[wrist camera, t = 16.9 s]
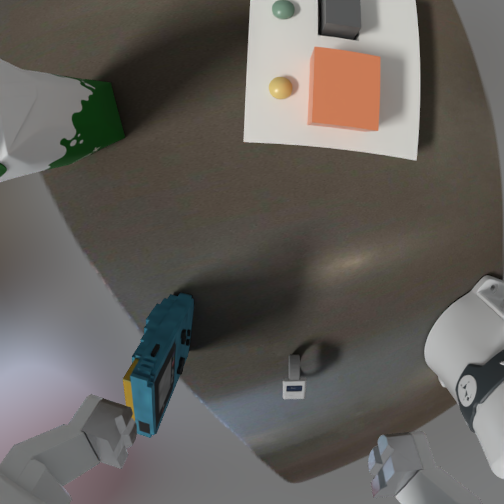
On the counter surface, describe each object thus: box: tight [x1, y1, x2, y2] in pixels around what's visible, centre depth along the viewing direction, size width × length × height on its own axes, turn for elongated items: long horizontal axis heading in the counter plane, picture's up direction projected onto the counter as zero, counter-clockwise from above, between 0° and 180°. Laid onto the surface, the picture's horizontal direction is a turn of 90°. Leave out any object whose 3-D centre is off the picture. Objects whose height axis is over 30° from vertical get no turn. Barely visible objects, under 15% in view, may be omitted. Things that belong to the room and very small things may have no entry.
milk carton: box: [0, 59, 125, 182], centre depth 21 cm, size 9×9×20 cm
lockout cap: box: [307, 47, 380, 132], centre depth 22 cm, size 5×6×4 cm
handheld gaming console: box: [123, 293, 194, 438], centre depth 31 cm, size 10×4×15 cm, turn 169°
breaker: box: [320, 0, 361, 40], centre depth 21 cm, size 3×4×4 cm
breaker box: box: [244, 0, 420, 160], centre depth 24 cm, size 16×18×5 cm
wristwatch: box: [283, 355, 306, 399], centre depth 37 cm, size 6×3×5 cm, turn 3°
